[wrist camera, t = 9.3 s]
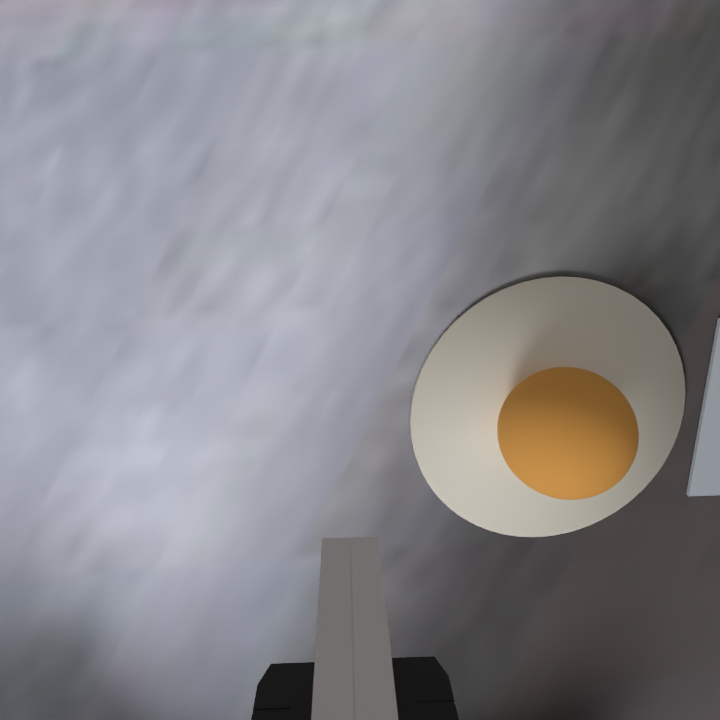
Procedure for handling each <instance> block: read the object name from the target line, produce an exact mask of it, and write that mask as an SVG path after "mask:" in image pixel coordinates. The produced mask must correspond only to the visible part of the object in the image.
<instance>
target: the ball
mask: <svg viewBox="0 0 720 720" xmlns="http://www.w3.org/2000/svg"><path fill="white" fill-rule="evenodd" d="M497 436H498V442H499V447H500V450H501V453H502V455H503V457H504V460H505V462H506V463H507V465H508V466H509V468H510V469H511V471H512V472H513V473H514V474H515V475H516V477H518V478H519V479H520V480H521V481H522V482H523V483H524V484H526V485H527V486H528V487H530V488H531V489H533V490H535V491H537V492H539V493H541V494H544V495H547V496H549V497H553V498H557V499H565V500H579V499H585V498H590V497H593V496H597V495H599V494H601V493H603V492H605V491H607V490H609V489H610V488H612V487H613V486H615V485H616V484H617V483H618V482H619V481H620V480H621V479H622V478H623V477H624V476H625V475H626V473H627V472H628V471H629V469H630V467H631V465H632V464H633V462H634V459H635V456H636V453H637V449H638V442H639V431H638V424H637V420H636V417H635V414H634V411H633V409H632V407H631V405H630V403H629V402H628V400H627V399H626V397H625V396H624V395H623V394H622V392H621V391H620V390H619V389H618V388H617V387H616V386H615V385H613V384H612V383H611V382H609V381H608V380H606V379H605V378H603V377H602V376H600V375H598V374H596V373H594V372H591V371H588V370H585V369H580V368H574V367H554V368H549V369H545V370H542V371H539V372H536V373H534V374H532V375H530V376H528V377H527V378H525V379H524V380H522V381H521V382H520V383H519V384H518V385H516V386H515V387H514V388H513V390H512V391H511V392H510V393H509V395H508V396H507V398H506V399H505V401H504V403H503V405H502V408H501V410H500V413H499V417H498V424H497Z"/></svg>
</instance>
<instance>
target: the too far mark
mask: <svg viewBox="0 0 720 720" xmlns="http://www.w3.org/2000/svg"><path fill="white" fill-rule="evenodd" d="M686 494H687V495H688V496H709V495H720V318H718V320H717V326H716V331H715V337H714V342H713V348H712V353H711V359H710V365H709V370H708V376H707V381H706V387H705V392H704V398H703V403H702V409H701V415H700V420H699V426H698V431H697V437H696V442H695V448H694V453H693V459H692V465H691V470H690V476H689V481H688V487H687V492H686Z"/></svg>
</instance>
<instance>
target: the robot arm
mask: <svg viewBox="0 0 720 720" xmlns="http://www.w3.org/2000/svg"><path fill="white" fill-rule="evenodd" d="M251 720H459V719H458V715H457V711H456V706H455V704H454V698H453V693H452V689H451V685H450V680H449V676H448V675H447V673H446V672H445V671H444V669H443V668H442V666H441V665H440V664H439V662H438V661H437V659H436V658H435V657H408V658H391V649H390V640H389V631H388V622H387V613H386V604H385V595H384V586H383V577H382V568H381V559H380V550H379V541H378V537H354V538H322V552H321V568H320V584H319V600H318V617H317V633H316V649H315V662H310V663H281V664H271V665H270V666H269V668H268V669H267V671H266V673H265V674H264V676H263V677H262V679H261V680H260V682H259V684H258V686H257V691H256V697H255V702H254V708H253V714H252V719H251Z"/></svg>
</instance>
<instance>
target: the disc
mask: <svg viewBox="0 0 720 720" xmlns="http://www.w3.org/2000/svg"><path fill="white" fill-rule="evenodd" d="M554 367H574V368H580V369H585V370H588V371H591V372H594V373H596V374H598V375H600V376H602V377H603V378H605V379H606V380H608V381H609V382H611V383H612V384H613V385H615V386H616V387H617V388H618V389H619V390H620V391H621V392H622V394H623V395H624V396H625V397H626V399H627V400H628V402H629V403H630V405H631V407H632V409H633V411H634V414H635V417H636V420H637V424H638V431H639V442H638V449H637V453H636V456H635V459H634V462H633V464H632V465H631V467H630V469H629V471H628V472H627V473H626V475H625V476H624V477H623V478H622V479H621V480H620V481H619V482H618V483H617V484H616V485H615V486H613V487H612V488H610V489H609V490H607V491H605V492H603V493H601V494H599V495H597V496H593V497H590V498H585V499H579V500H565V499H557V498H553V497H549V496H547V495H544V494H541V493H539V492H537V491H535V490H533V489H531V488H530V487H528V486H527V485H526V484H524V483H523V482H522V481H521V480H520V479H519V478H518V477H516V475H515V474H514V473H513V472H512V471H511V469H510V468H509V466H508V465H507V463H506V462H505V460H504V457H503V455H502V453H501V450H500V447H499V442H498V436H497V424H498V417H499V413H500V410H501V408H502V405H503V403H504V401H505V399H506V398H507V396H508V395H509V393H510V392H511V391H512V390H513V388H514V387H515V386H516V385H518V384H519V383H520V382H521V381H522V380H524V379H525V378H527V377H528V376H530V375H532V374H534V373H536V372H539V371H542V370H545V369H549V368H554ZM684 404H685V377H684V372H683V366H682V362H681V359H680V356H679V353H678V350H677V347H676V345H675V343H674V341H673V339H672V337H671V335H670V333H669V331H668V330H667V329H666V327H665V326H664V324H663V323H662V322H661V320H660V319H659V318H658V317H657V316H656V315H655V314H654V313H653V312H652V311H651V310H650V309H649V308H648V307H647V306H646V305H645V304H643V303H642V302H641V301H639V300H638V299H637V298H635V297H634V296H632V295H631V294H629V293H627V292H625V291H623V290H621V289H619V288H617V287H614V286H611V285H609V284H606V283H603V282H600V281H596V280H591V279H586V278H580V277H564V276H558V277H546V278H538V279H533V280H529V281H524V282H520V283H518V284H515V285H512V286H509V287H506V288H503V289H501V290H499V291H497V292H495V293H493V294H491V295H489V296H487V297H485V298H484V299H482V300H481V301H479V302H478V303H476V304H475V305H473V306H472V307H470V308H469V309H468V310H467V311H466V312H464V313H463V314H462V315H461V316H460V317H459V318H457V319H456V320H455V321H454V322H453V323H452V324H451V325H450V326H449V328H448V329H447V330H446V331H445V332H444V333H443V334H442V335H441V337H440V338H439V339H438V341H437V342H436V344H435V345H434V347H433V348H432V349H431V351H430V353H429V355H428V356H427V358H426V360H425V362H424V364H423V366H422V368H421V371H420V373H419V376H418V379H417V381H416V384H415V388H414V393H413V397H412V401H411V413H410V429H411V439H412V444H413V449H414V453H415V456H416V459H417V461H418V464H419V467H420V470H421V471H422V473H423V475H424V477H425V479H426V481H427V483H428V484H429V486H430V487H431V488H432V490H433V491H434V492H435V494H436V495H437V496H438V497H439V498H440V499H441V500H442V501H443V502H444V503H445V504H446V505H447V506H448V507H449V508H450V509H451V510H453V511H454V512H455V513H457V514H458V515H459V516H460V517H462V518H464V519H466V520H467V521H469V522H471V523H473V524H475V525H477V526H480V527H482V528H484V529H487V530H490V531H493V532H497V533H501V534H505V535H512V536H519V537H543V536H553V535H558V534H563V533H568V532H572V531H575V530H578V529H581V528H584V527H587V526H589V525H591V524H594V523H596V522H598V521H600V520H602V519H604V518H606V517H607V516H609V515H611V514H613V513H614V512H616V511H618V510H619V509H620V508H622V507H623V506H624V505H626V504H627V503H628V502H630V501H631V500H632V499H633V498H634V497H635V496H637V495H638V494H639V493H640V492H641V491H642V490H643V489H644V488H645V487H646V486H647V485H648V483H649V482H650V481H651V480H652V479H653V478H654V476H655V475H656V474H657V472H658V471H659V469H660V468H661V467H662V465H663V464H664V462H665V461H666V459H667V457H668V455H669V453H670V451H671V449H672V447H673V445H674V443H675V440H676V437H677V435H678V432H679V429H680V426H681V421H682V417H683V413H684Z"/></svg>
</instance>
